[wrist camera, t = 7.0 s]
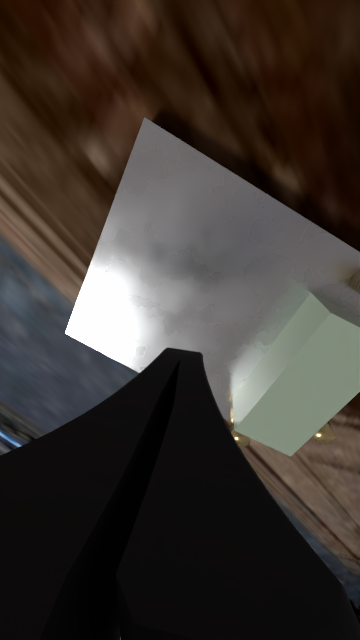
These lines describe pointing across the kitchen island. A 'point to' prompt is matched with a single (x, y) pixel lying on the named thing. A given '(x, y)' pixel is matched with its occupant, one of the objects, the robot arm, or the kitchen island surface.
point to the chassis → (204, 268)
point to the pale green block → (301, 377)
